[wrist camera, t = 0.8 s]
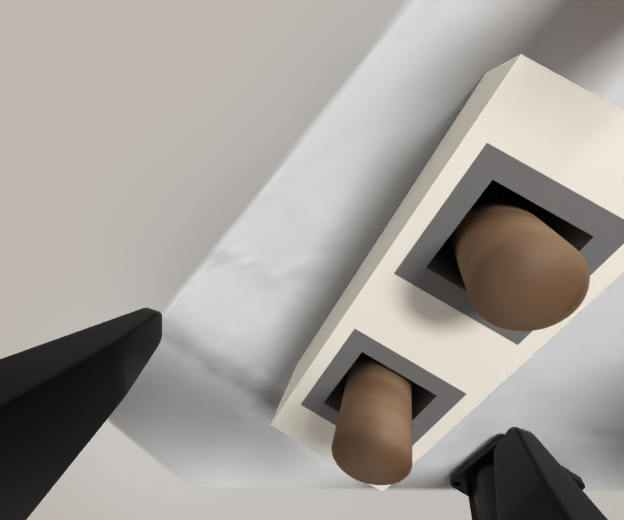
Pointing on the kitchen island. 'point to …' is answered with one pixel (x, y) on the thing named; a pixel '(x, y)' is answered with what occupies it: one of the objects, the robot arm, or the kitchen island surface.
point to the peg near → (517, 266)
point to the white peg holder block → (443, 265)
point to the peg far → (374, 424)
